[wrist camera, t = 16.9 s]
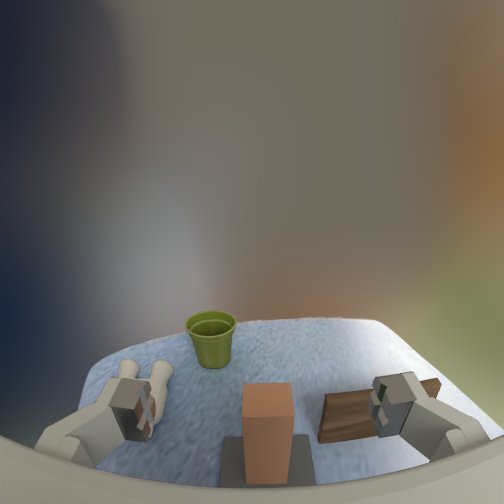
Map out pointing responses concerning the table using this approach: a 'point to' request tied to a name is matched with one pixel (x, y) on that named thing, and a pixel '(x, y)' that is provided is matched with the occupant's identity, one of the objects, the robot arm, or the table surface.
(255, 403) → the marked block
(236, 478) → the slate pad
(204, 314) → the plant pot
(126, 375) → the binoculars
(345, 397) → the low board
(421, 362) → the table surface
